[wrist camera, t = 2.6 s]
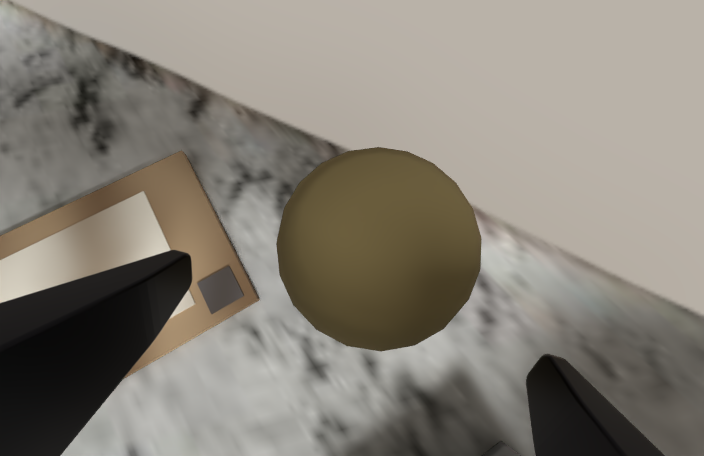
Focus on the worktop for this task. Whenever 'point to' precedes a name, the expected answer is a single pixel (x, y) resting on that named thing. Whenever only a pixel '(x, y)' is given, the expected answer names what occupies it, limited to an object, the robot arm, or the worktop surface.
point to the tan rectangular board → (135, 247)
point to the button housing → (501, 450)
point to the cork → (378, 248)
